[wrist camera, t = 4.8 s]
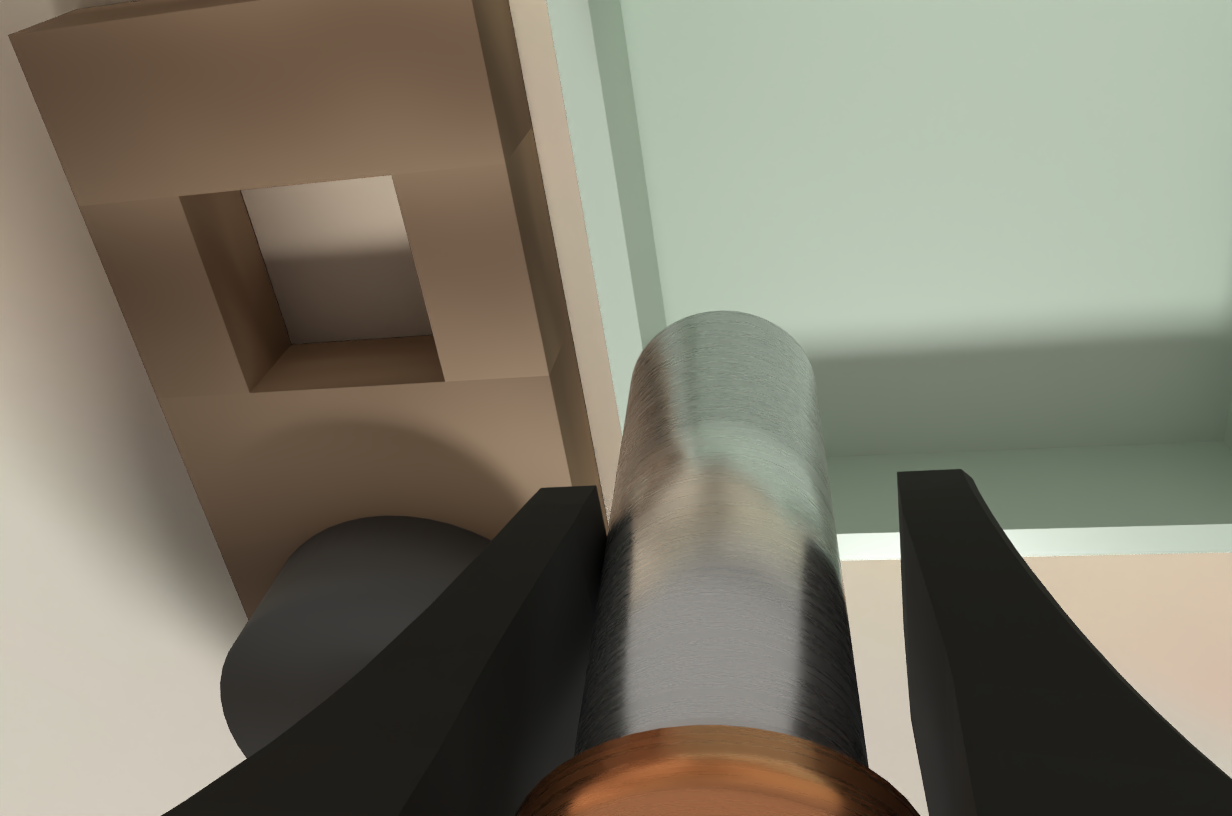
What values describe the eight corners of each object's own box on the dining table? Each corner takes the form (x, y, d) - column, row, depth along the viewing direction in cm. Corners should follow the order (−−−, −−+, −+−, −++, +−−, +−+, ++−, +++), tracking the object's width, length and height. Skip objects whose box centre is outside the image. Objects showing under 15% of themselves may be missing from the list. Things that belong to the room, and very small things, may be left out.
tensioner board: (646, 725, 27) (610, 928, 23) (345, 722, 29) (254, 911, 24) (498, -51, 18) (389, 23, 14) (76, 9, 20) (-147, 93, 16)
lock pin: (854, 485, 15) (961, 1109, 8) (620, 503, 15) (534, 1107, 9) (840, 266, 13) (957, 814, 7) (579, 295, 14) (437, 833, 7)
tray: (1246, 452, 21) (1304, 550, 19) (663, 474, 23) (644, 564, 21) (1351, -220, 16) (1454, -210, 13) (573, -102, 18) (533, -75, 15)
